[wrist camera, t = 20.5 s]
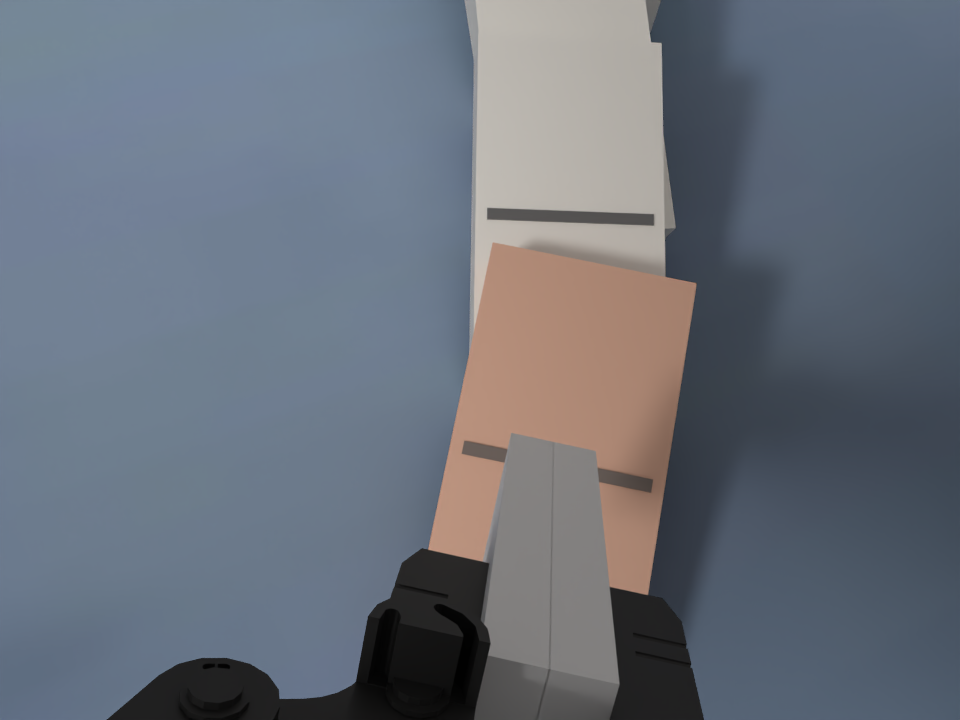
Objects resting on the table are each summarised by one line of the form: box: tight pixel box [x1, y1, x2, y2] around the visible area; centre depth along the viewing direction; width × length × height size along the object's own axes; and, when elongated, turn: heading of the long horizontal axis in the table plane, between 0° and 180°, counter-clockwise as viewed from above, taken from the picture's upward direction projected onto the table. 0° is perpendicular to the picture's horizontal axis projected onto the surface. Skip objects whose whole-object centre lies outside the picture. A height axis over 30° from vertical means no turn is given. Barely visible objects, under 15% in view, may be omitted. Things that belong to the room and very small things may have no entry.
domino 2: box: [469, 33, 665, 353], centre depth 25 cm, size 2×5×10 cm
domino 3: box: [428, 242, 697, 595], centre depth 22 cm, size 2×5×10 cm
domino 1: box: [468, 0, 676, 238], centre depth 27 cm, size 2×5×10 cm
